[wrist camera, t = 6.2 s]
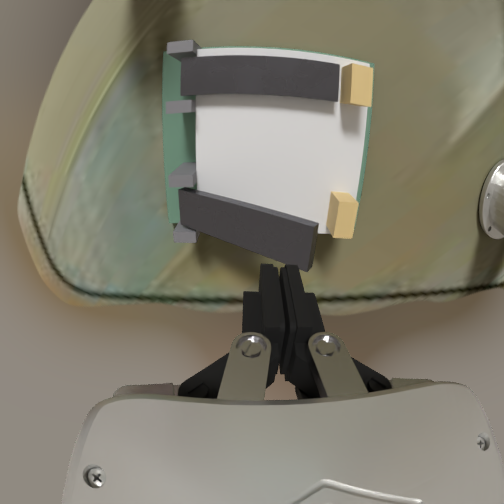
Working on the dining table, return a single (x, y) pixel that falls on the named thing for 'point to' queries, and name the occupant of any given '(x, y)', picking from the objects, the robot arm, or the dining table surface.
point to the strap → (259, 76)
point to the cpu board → (268, 142)
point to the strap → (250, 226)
